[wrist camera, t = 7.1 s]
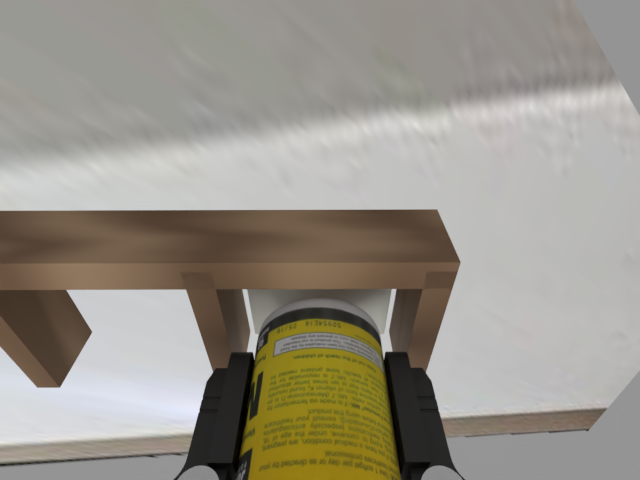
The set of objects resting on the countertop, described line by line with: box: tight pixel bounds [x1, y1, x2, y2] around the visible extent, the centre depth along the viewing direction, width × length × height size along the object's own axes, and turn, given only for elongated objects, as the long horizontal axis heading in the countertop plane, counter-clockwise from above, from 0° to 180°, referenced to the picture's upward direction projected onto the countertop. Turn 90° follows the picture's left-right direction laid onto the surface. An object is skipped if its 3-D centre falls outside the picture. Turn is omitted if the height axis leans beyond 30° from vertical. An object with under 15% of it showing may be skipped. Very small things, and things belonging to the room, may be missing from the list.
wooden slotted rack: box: [0, 209, 461, 388], centre depth 15 cm, size 17×7×3 cm, turn 90°
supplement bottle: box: [236, 298, 401, 480], centre depth 11 cm, size 5×5×8 cm
